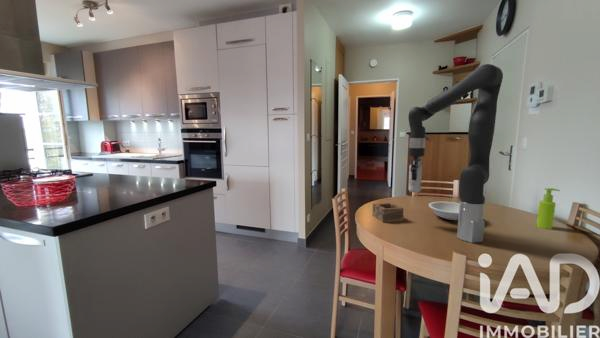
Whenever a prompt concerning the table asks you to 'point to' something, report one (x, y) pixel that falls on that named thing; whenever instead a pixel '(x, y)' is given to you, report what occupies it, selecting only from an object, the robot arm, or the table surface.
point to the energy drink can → (415, 184)
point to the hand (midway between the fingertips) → (415, 179)
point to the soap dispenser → (546, 210)
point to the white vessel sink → (446, 209)
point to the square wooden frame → (387, 212)
